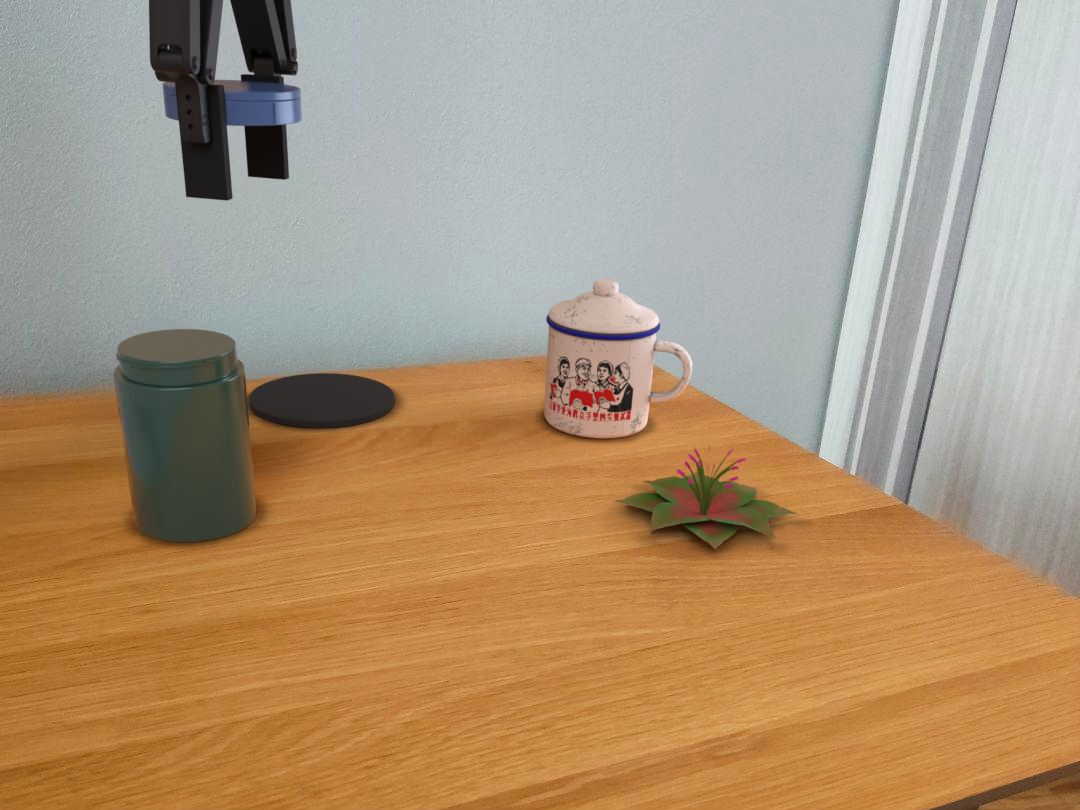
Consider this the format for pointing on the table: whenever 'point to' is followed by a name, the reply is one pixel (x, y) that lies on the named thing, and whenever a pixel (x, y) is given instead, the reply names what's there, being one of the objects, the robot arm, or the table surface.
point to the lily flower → (706, 504)
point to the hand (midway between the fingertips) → (240, 186)
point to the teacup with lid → (604, 364)
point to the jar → (185, 434)
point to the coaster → (321, 400)
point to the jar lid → (249, 103)
